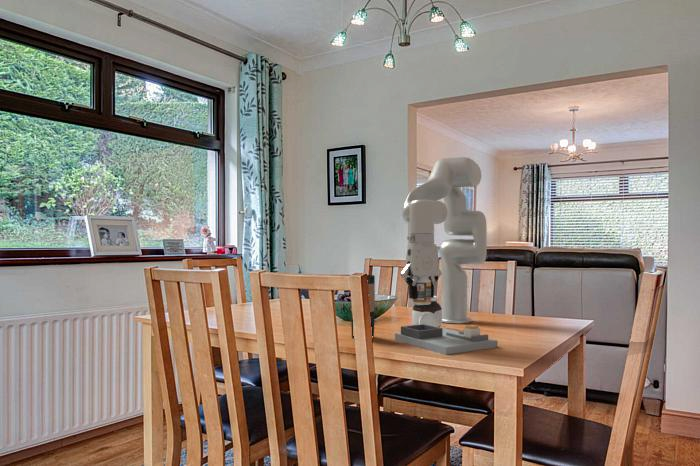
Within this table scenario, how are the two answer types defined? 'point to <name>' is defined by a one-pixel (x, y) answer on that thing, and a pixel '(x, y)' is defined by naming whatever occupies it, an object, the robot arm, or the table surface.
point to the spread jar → (427, 314)
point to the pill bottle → (423, 291)
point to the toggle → (471, 331)
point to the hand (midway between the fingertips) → (421, 297)
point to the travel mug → (371, 301)
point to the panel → (443, 339)
